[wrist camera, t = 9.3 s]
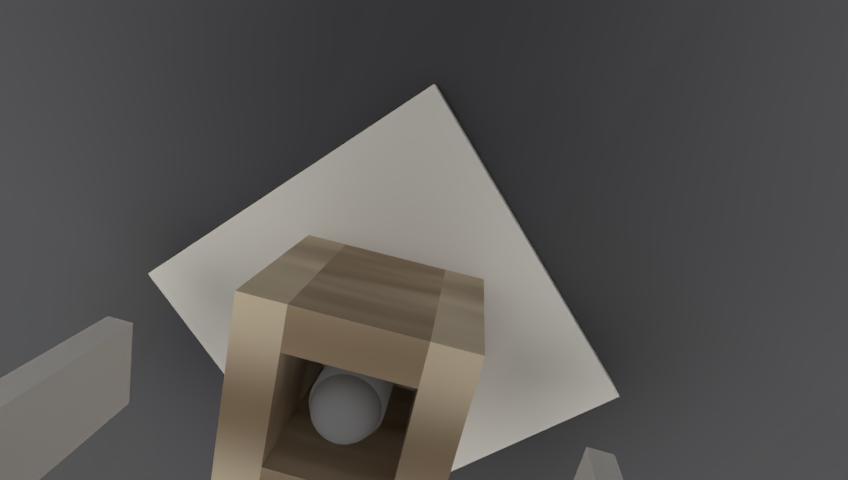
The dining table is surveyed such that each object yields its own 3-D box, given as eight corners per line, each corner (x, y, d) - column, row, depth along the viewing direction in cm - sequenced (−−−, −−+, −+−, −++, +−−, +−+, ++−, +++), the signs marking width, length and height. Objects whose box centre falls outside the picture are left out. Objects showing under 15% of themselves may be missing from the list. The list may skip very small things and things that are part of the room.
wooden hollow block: (308, 234, 19) (231, 293, 13) (483, 279, 19) (484, 359, 13) (283, 387, 21) (206, 497, 15) (441, 430, 21) (425, 560, 15)
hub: (436, 84, 18) (410, 73, 11) (613, 382, 21) (678, 520, 14) (162, 266, 21) (14, 341, 15) (342, 505, 24) (287, 666, 17)
